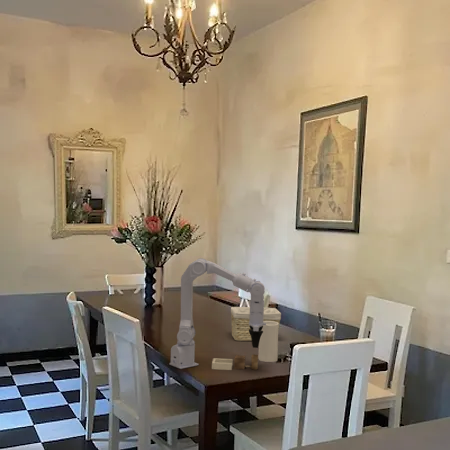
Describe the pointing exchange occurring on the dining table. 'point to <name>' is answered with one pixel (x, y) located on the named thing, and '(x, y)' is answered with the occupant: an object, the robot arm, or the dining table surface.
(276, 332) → the cup
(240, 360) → the tan rounded-end part
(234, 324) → the storage basket
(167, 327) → the dining table surface
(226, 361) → the small tray
